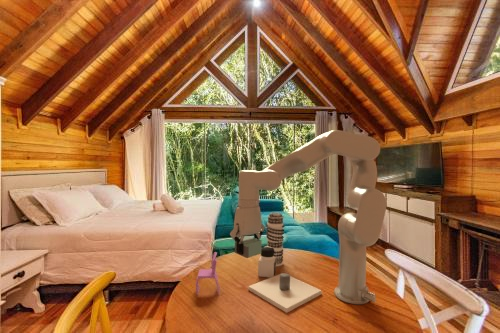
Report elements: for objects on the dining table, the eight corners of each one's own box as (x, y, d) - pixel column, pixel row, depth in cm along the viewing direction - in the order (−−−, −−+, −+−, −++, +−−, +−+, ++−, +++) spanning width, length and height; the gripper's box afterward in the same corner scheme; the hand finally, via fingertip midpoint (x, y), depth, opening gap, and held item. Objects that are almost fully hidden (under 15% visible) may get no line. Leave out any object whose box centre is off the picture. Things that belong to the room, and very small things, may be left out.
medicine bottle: (274, 278, 114) (274, 251, 114) (257, 276, 115) (258, 249, 115) (275, 271, 121) (276, 245, 121) (260, 270, 122) (260, 244, 122)
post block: (321, 294, 101) (321, 277, 101) (286, 312, 88) (286, 293, 88) (282, 276, 116) (283, 261, 116) (248, 289, 103) (248, 273, 103)
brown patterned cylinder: (273, 258, 138) (274, 210, 137) (287, 263, 131) (288, 213, 130) (261, 262, 132) (262, 213, 131) (275, 268, 125) (276, 216, 124)
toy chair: (197, 286, 105) (198, 249, 105) (219, 285, 106) (220, 249, 106) (195, 297, 97) (195, 257, 97) (219, 296, 98) (219, 256, 98)
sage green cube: (261, 253, 97) (261, 240, 96) (246, 258, 92) (246, 244, 92) (249, 248, 102) (249, 236, 102) (234, 252, 97) (234, 239, 97)
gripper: (259, 200, 105) (258, 244, 105) (223, 204, 94) (222, 253, 94) (272, 202, 99) (271, 249, 100) (236, 207, 88) (235, 259, 88)
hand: (248, 251), depth 97 cm, fingers closed on sage green cube, 7 cm apart
